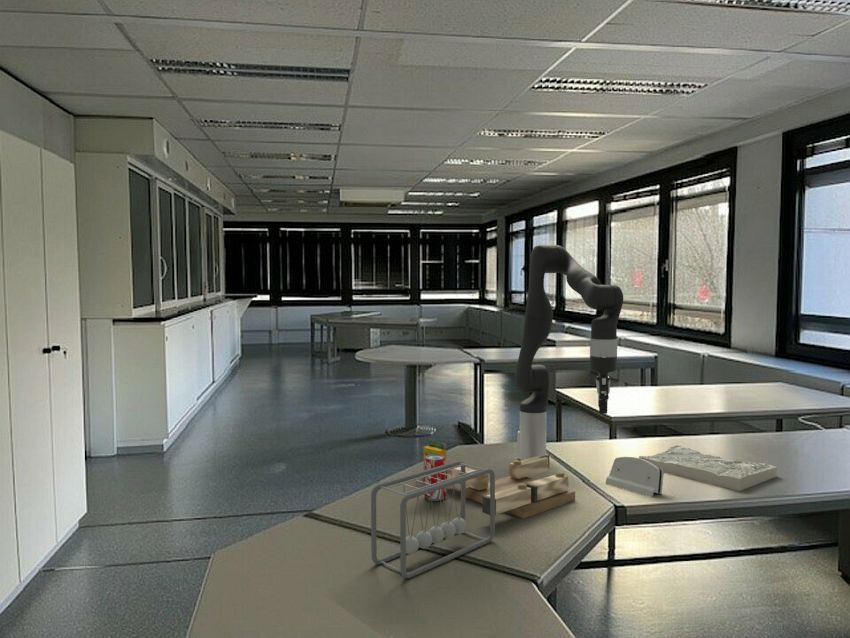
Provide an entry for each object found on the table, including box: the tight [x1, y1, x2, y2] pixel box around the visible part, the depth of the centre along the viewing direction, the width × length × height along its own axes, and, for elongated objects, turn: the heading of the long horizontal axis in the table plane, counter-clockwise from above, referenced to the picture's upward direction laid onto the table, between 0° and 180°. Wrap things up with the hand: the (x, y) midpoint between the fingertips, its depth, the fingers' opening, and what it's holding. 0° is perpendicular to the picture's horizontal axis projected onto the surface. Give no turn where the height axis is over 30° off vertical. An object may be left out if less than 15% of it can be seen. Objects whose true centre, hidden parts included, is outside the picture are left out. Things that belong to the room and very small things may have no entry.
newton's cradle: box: [370, 460, 496, 579], centre depth 143 cm, size 30×10×18 cm, turn 135°
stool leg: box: [524, 471, 569, 502], centre depth 174 cm, size 15×4×5 cm, turn 130°
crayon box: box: [423, 439, 447, 462], centre depth 198 cm, size 7×3×12 cm, turn 47°
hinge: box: [605, 456, 665, 498], centre depth 189 cm, size 17×5×10 cm, turn 37°
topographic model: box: [638, 444, 778, 492], centre depth 206 cm, size 23×34×5 cm
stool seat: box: [446, 454, 576, 519], centre depth 183 cm, size 32×44×8 cm
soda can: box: [423, 455, 447, 502], centre depth 180 cm, size 6×6×12 cm
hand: (602, 410), depth 181 cm, fingers open, 8 cm apart
